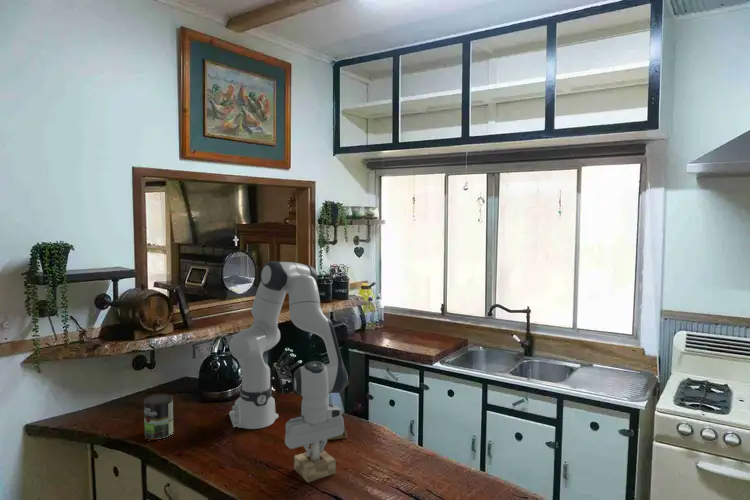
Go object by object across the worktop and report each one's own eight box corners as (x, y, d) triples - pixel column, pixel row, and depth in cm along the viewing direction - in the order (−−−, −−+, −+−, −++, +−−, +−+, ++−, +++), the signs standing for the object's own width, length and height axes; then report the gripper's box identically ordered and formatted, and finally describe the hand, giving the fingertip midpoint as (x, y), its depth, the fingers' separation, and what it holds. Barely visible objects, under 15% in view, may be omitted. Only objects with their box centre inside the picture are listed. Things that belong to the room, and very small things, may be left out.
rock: (353, 428, 190) (332, 419, 195) (348, 416, 184) (327, 407, 189) (339, 453, 183) (317, 443, 188) (333, 441, 178) (311, 431, 183)
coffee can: (157, 443, 181) (157, 405, 180) (138, 437, 185) (137, 400, 184) (179, 432, 190) (179, 396, 189) (160, 427, 194) (159, 392, 193)
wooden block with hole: (294, 468, 164) (294, 455, 163) (320, 460, 169) (321, 447, 169) (307, 482, 155) (307, 468, 155) (335, 473, 161) (335, 460, 161)
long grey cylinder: (309, 465, 163) (309, 435, 162) (317, 463, 164) (317, 433, 163) (313, 469, 160) (313, 439, 160) (321, 466, 162) (321, 437, 161)
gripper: (289, 423, 153) (290, 466, 154) (346, 409, 164) (346, 449, 165) (281, 416, 158) (281, 458, 159) (337, 403, 169) (336, 442, 170)
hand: (315, 453), depth 162 cm, fingers closed on long grey cylinder, 3 cm apart
